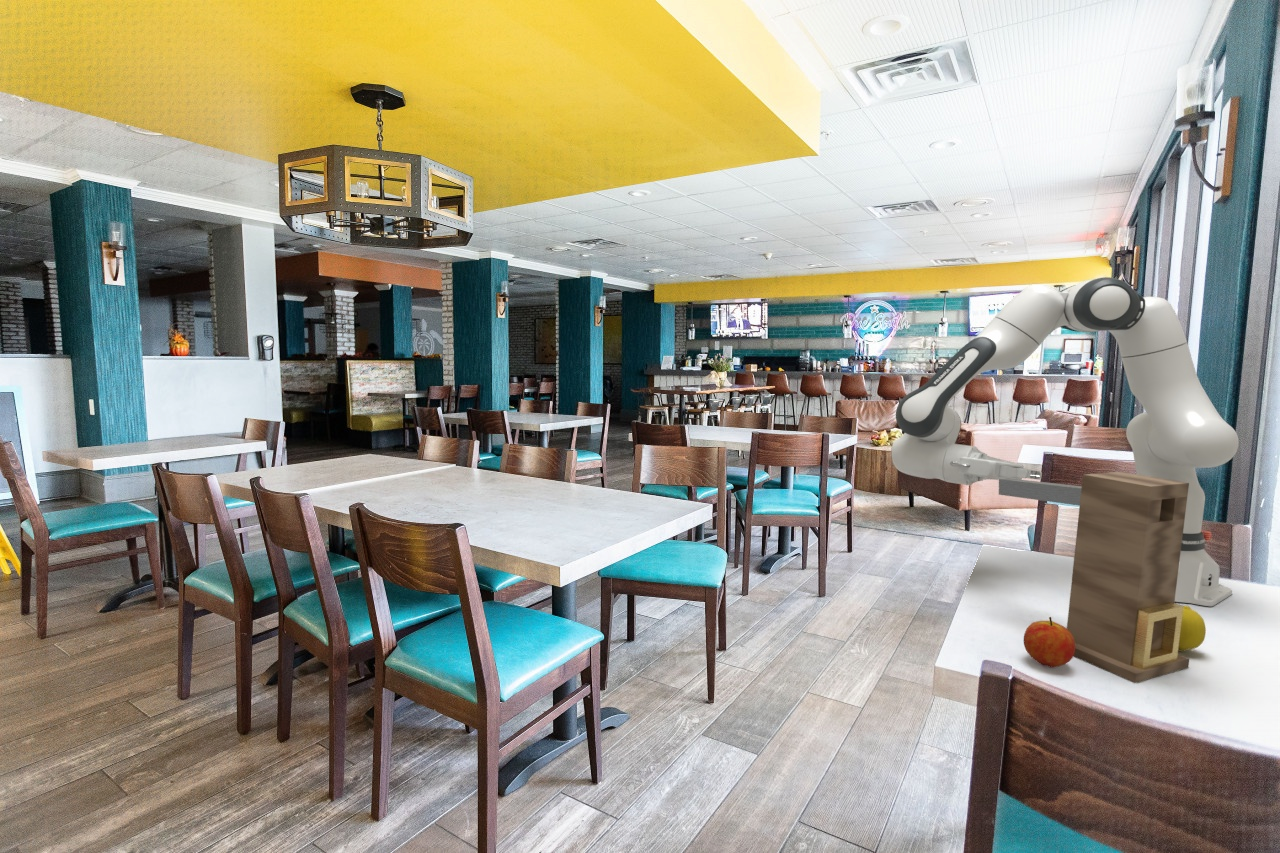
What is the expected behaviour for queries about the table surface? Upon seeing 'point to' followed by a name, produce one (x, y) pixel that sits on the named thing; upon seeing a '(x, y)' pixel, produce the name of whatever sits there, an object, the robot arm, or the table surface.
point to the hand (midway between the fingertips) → (1034, 475)
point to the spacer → (1145, 631)
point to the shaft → (1040, 491)
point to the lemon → (1191, 630)
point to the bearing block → (1124, 567)
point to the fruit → (1049, 643)
